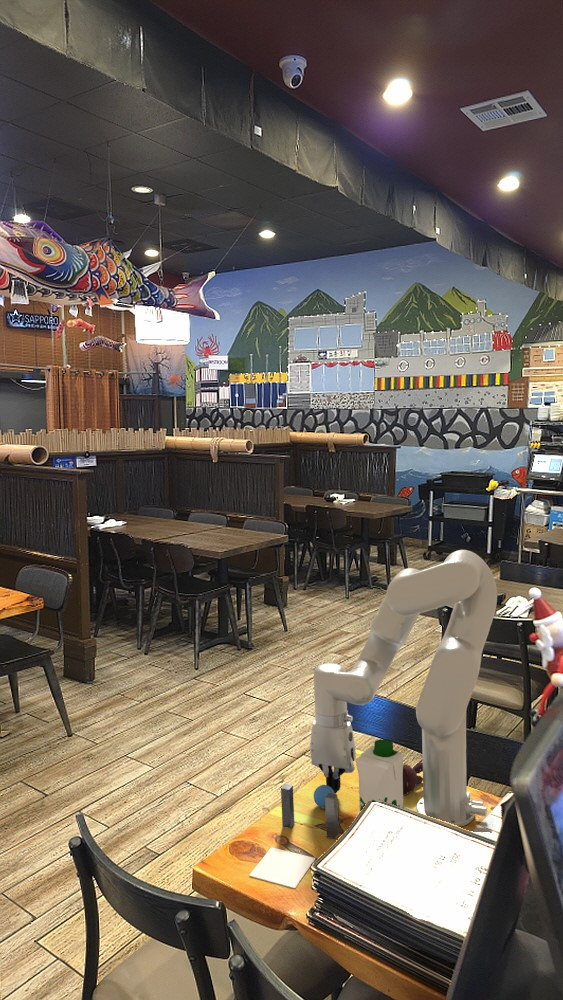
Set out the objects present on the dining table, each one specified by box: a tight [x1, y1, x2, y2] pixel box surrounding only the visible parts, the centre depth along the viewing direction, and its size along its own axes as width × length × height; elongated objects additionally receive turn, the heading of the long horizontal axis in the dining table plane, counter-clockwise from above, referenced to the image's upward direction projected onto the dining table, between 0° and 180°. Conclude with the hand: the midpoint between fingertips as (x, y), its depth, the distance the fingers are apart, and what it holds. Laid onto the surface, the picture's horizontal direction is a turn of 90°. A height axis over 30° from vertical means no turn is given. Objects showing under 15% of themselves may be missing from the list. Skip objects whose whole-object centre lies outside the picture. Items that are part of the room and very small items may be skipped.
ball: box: [313, 784, 335, 809], centre depth 161 cm, size 5×5×5 cm
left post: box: [280, 783, 295, 829], centre depth 154 cm, size 2×2×9 cm
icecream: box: [403, 761, 423, 796], centre depth 166 cm, size 7×7×15 cm
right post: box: [324, 793, 340, 840], centre depth 150 cm, size 2×2×9 cm
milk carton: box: [354, 738, 405, 812], centre depth 148 cm, size 9×9×20 cm
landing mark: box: [248, 847, 316, 890], centre depth 140 cm, size 10×10×1 cm
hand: (333, 791), depth 165 cm, fingers closed
